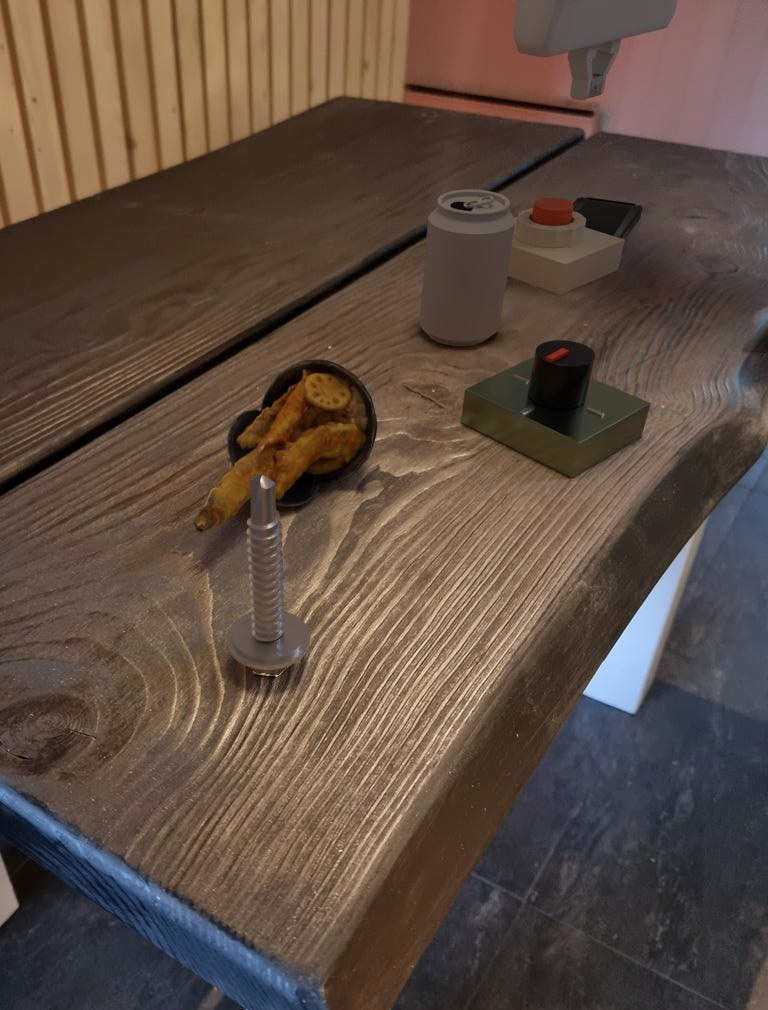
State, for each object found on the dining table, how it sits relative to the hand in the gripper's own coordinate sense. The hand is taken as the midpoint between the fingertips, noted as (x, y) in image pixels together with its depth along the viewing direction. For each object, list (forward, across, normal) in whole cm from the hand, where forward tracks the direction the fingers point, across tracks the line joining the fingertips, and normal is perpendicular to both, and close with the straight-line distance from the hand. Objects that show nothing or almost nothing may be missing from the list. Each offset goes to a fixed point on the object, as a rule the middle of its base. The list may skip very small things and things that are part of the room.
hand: (586, 97), depth 89 cm
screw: (+16, +63, +27) cm, 70 cm away
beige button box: (+16, +2, 0) cm, 16 cm away
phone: (+16, -11, -4) cm, 20 cm away
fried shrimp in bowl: (+16, +51, +14) cm, 55 cm away
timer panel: (+16, +29, +21) cm, 39 cm away
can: (+16, +21, +4) cm, 27 cm away
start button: (+11, +2, 0) cm, 11 cm away
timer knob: (+13, +29, +21) cm, 38 cm away
